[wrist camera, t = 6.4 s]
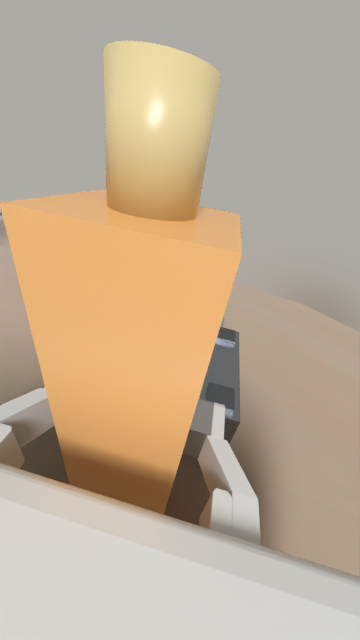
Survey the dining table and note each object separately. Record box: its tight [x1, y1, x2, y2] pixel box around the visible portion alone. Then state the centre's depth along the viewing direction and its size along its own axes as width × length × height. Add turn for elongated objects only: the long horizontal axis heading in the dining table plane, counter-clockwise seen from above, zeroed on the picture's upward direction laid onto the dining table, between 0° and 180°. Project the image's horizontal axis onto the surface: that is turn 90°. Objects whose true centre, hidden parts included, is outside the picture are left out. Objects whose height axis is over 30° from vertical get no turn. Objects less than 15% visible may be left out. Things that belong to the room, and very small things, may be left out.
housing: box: [199, 327, 240, 443], centre depth 23 cm, size 12×11×5 cm
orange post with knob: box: [0, 41, 242, 514], centre depth 10 cm, size 4×4×20 cm
